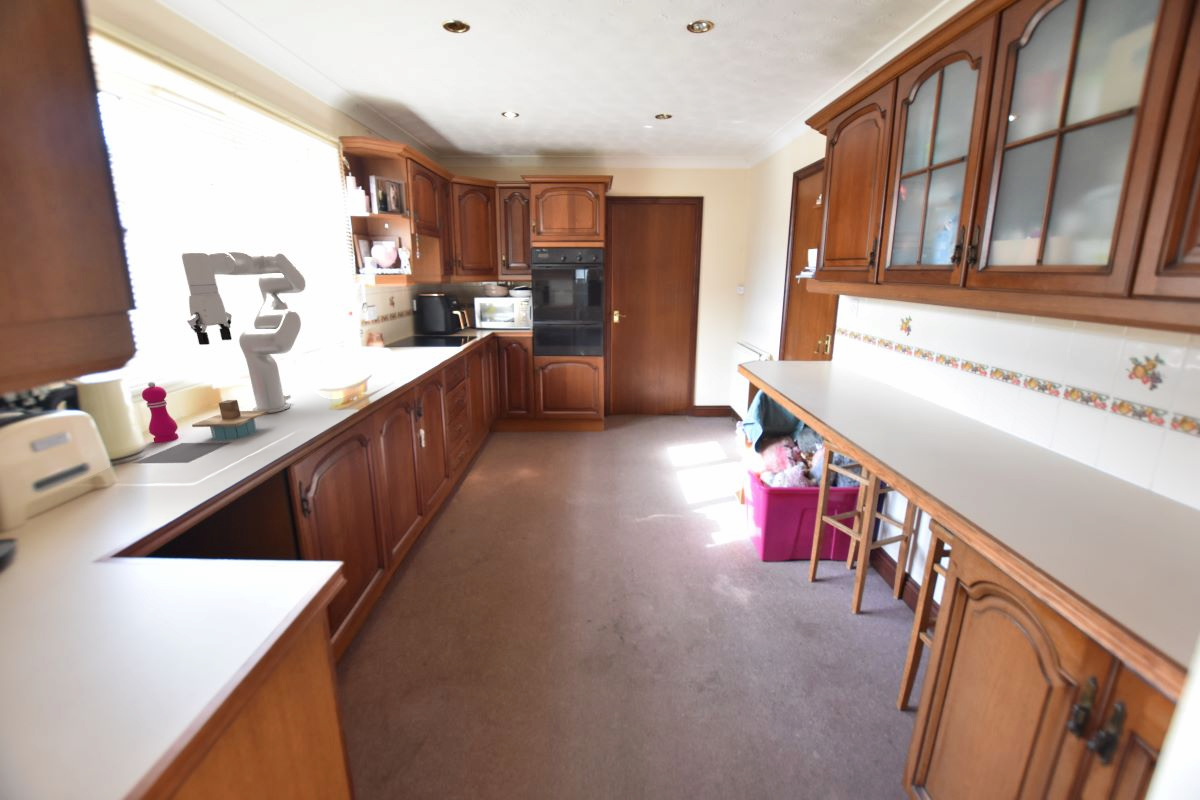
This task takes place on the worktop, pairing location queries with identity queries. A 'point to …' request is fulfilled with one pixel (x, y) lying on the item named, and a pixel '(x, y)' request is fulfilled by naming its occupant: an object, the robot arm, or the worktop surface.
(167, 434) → the pepper mill
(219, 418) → the lid
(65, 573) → the worktop surface
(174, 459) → the mat
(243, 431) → the bowl
